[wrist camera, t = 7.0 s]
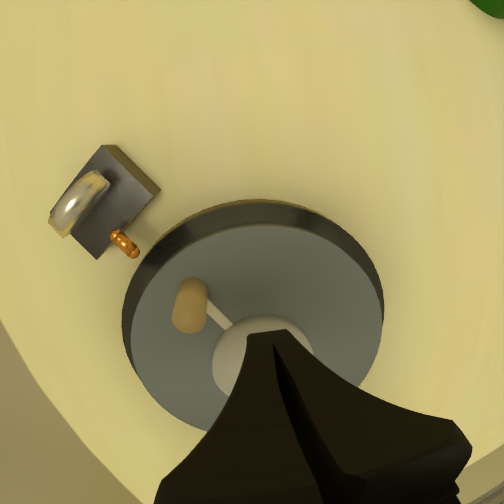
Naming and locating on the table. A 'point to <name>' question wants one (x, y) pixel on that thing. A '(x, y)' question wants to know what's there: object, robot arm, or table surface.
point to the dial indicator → (103, 202)
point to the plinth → (227, 217)
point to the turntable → (249, 313)
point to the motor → (491, 7)
